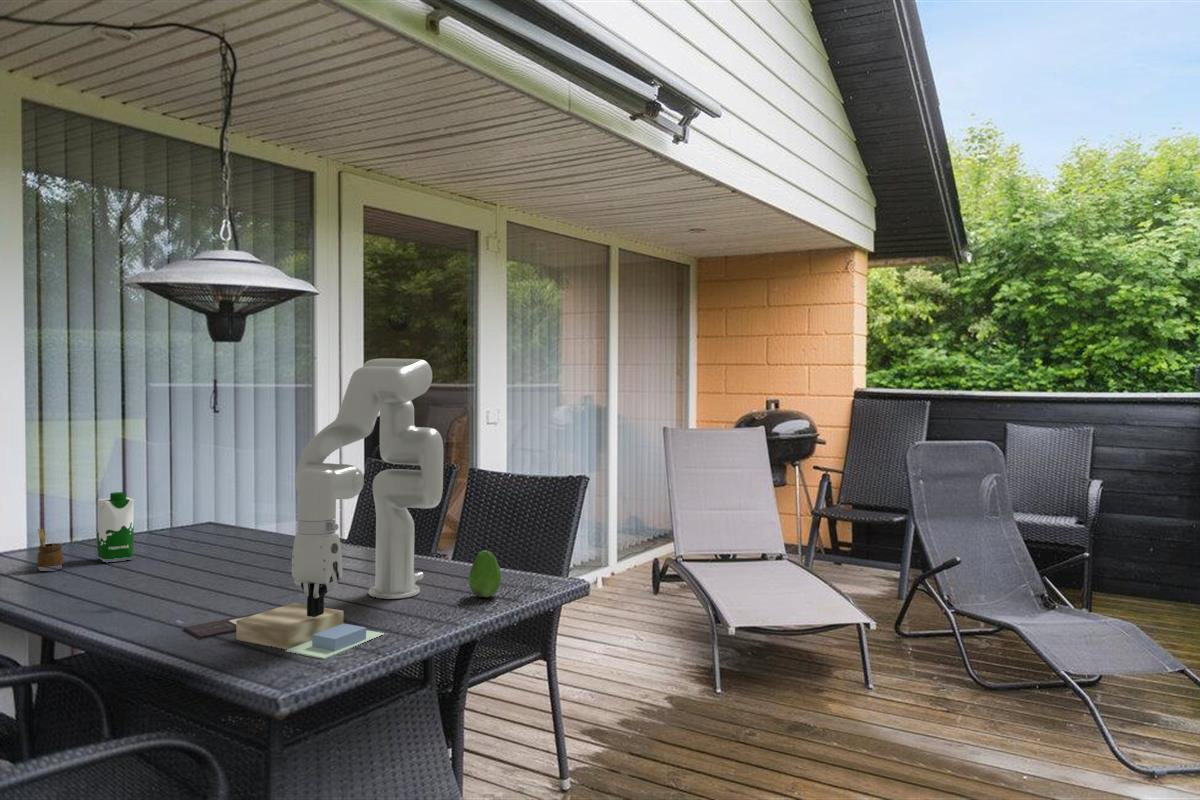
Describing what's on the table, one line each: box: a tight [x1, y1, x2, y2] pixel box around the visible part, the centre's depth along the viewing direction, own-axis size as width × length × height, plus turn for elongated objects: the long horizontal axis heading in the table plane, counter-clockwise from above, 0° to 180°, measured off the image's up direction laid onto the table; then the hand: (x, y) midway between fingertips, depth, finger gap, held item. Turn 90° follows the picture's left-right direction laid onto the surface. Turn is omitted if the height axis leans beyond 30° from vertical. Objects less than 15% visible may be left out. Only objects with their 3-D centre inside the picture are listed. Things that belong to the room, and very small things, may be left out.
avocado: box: [468, 549, 502, 598], centre depth 210 cm, size 8×8×12 cm
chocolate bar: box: [183, 612, 260, 640], centre depth 182 cm, size 9×1×18 cm
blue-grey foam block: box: [312, 623, 367, 651], centre depth 170 cm, size 9×6×2 cm, turn 155°
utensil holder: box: [37, 528, 64, 567], centre depth 230 cm, size 6×6×12 cm
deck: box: [235, 602, 344, 650], centre depth 176 cm, size 16×14×4 cm
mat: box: [285, 629, 386, 660], centre depth 171 cm, size 18×10×1 cm, turn 156°
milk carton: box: [96, 491, 135, 559], centre depth 244 cm, size 9×9×20 cm
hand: (315, 615), depth 174 cm, fingers closed
